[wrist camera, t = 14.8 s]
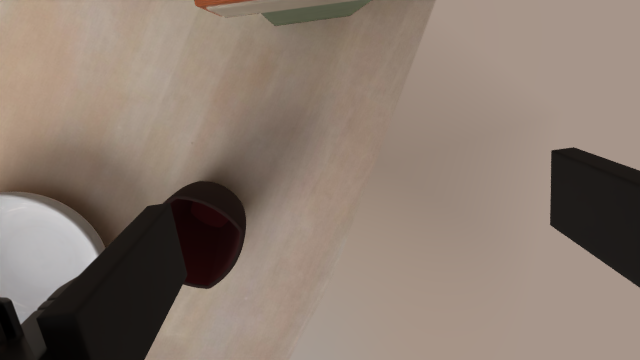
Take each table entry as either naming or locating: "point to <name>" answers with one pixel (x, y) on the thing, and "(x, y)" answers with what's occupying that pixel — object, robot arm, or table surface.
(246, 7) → the terracotta rectangular block
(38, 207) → the serving bowl
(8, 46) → the table surface
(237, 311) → the table surface
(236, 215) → the mug
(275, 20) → the box stack
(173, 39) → the table surface
